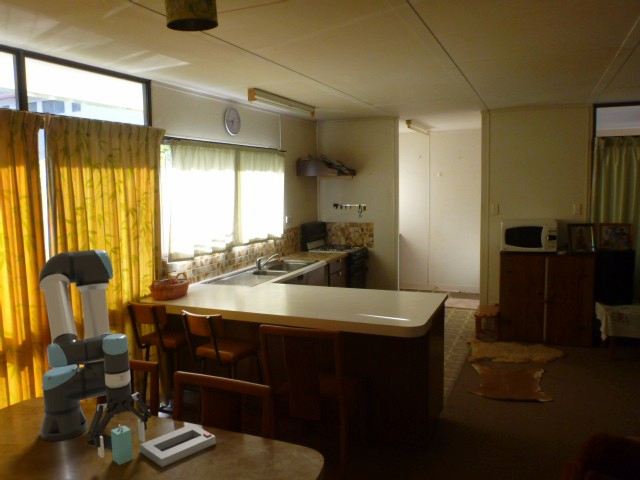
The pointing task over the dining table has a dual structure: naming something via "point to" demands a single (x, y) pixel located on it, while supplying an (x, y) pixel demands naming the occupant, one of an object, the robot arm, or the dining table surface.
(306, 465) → the dining table surface
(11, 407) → the dining table surface
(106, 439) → the smartphone
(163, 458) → the grey slotted tray
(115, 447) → the block
